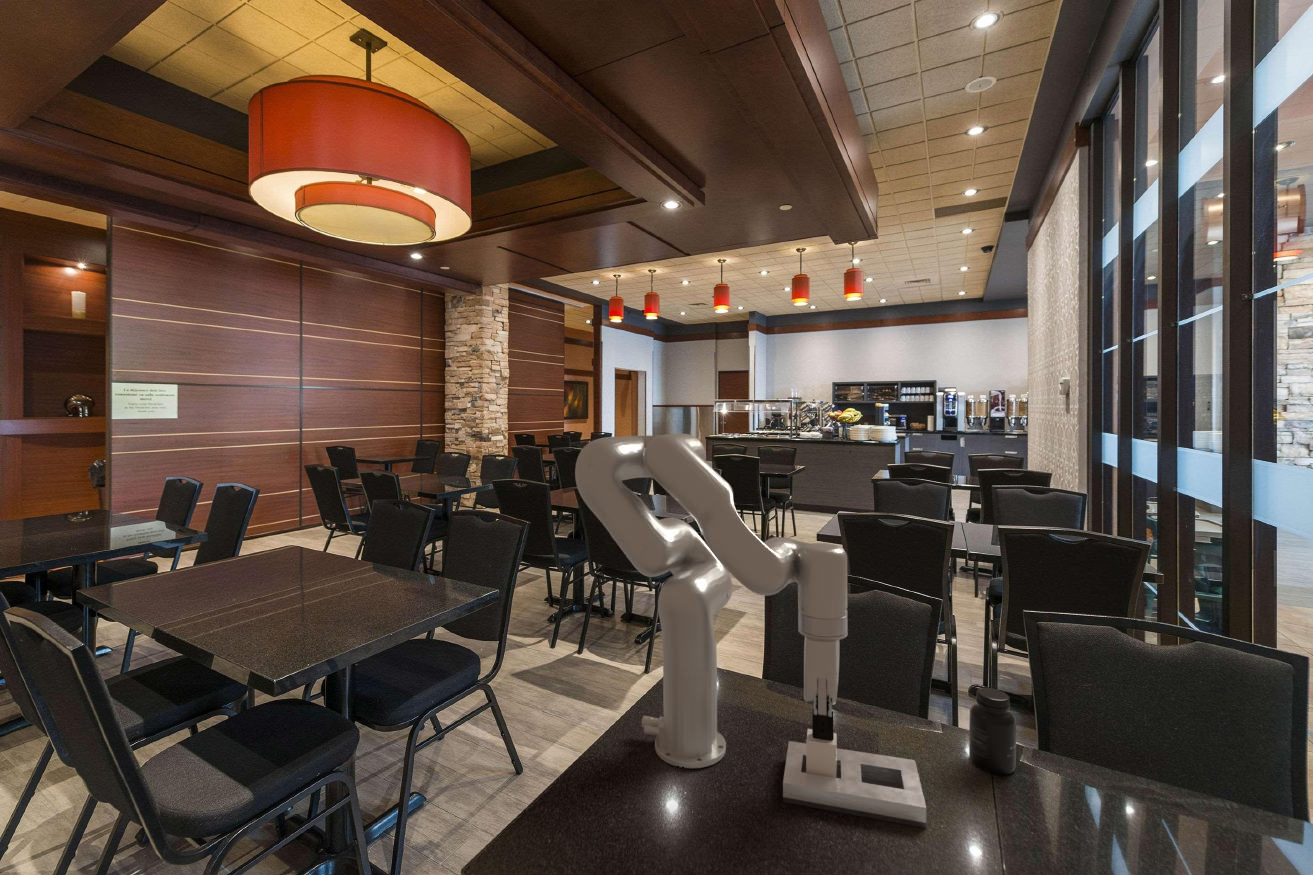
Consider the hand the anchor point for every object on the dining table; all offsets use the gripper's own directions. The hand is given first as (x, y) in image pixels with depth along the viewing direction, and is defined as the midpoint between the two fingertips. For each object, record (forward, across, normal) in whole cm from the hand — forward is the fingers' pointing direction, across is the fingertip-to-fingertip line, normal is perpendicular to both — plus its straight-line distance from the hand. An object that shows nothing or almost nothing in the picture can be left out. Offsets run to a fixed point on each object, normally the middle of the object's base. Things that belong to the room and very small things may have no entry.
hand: (823, 736), depth 92 cm
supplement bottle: (+8, -14, +27) cm, 32 cm away
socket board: (+8, 0, +4) cm, 9 cm away
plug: (+7, 0, 0) cm, 7 cm away
